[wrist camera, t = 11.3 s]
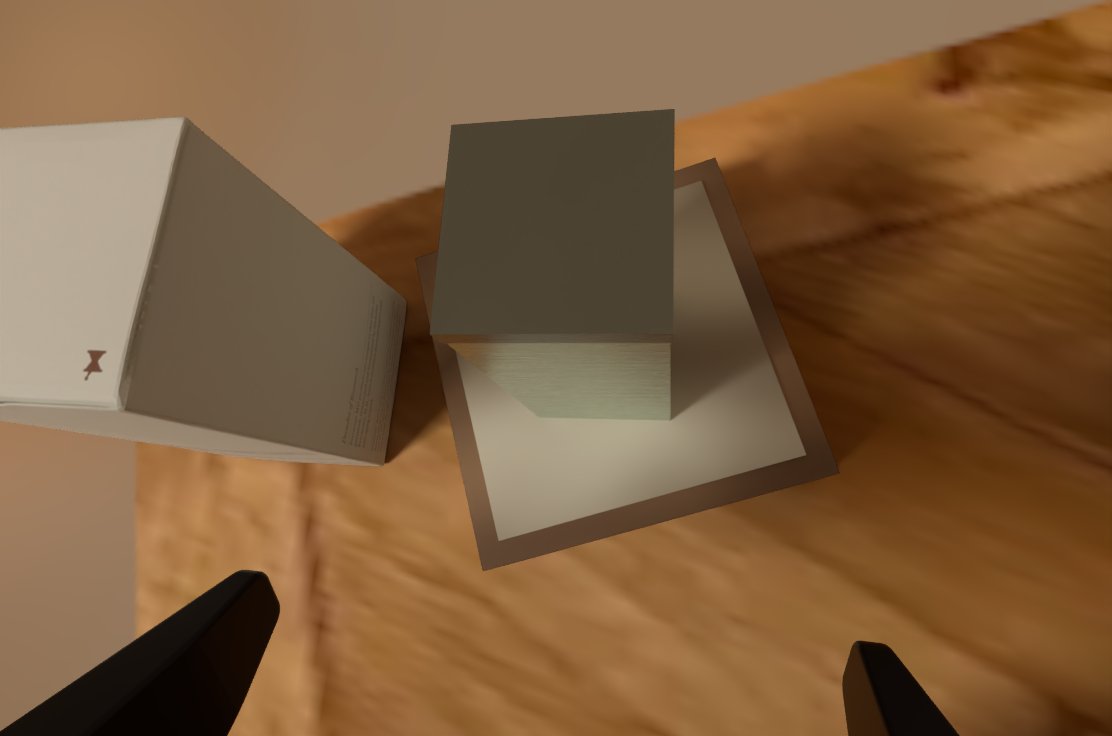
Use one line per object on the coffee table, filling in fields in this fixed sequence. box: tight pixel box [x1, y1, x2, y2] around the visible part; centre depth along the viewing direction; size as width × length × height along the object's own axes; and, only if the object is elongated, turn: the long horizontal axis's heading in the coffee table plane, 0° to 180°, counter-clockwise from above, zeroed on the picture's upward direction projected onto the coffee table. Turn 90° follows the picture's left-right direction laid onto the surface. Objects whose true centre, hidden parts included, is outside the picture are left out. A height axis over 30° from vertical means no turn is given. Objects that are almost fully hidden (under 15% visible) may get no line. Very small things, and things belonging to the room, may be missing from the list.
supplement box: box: [0, 117, 407, 466], centre depth 20 cm, size 7×7×13 cm
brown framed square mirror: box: [415, 158, 840, 571], centre depth 23 cm, size 12×12×3 cm
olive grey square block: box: [430, 109, 674, 421], centre depth 17 cm, size 5×5×10 cm
